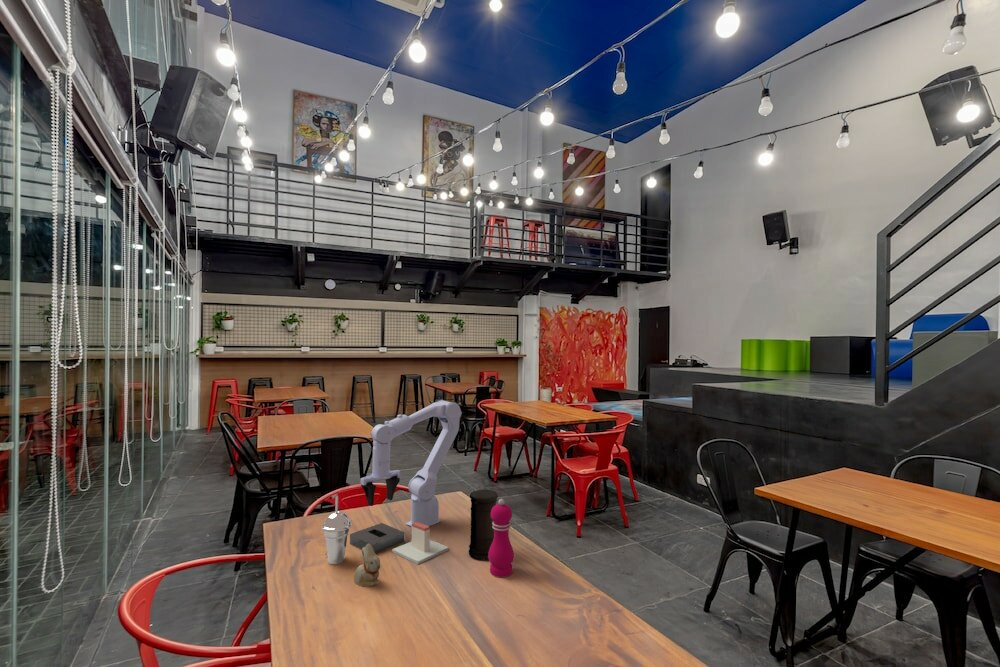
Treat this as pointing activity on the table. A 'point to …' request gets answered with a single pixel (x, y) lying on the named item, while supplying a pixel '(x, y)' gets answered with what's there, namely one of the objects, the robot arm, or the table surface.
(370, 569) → the chocolate bunny
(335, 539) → the cup with straw
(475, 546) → the container
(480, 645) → the table surface
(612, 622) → the table surface
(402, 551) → the pad
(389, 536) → the grey plate with slot
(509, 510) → the pepper mill
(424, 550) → the pink topped brick
